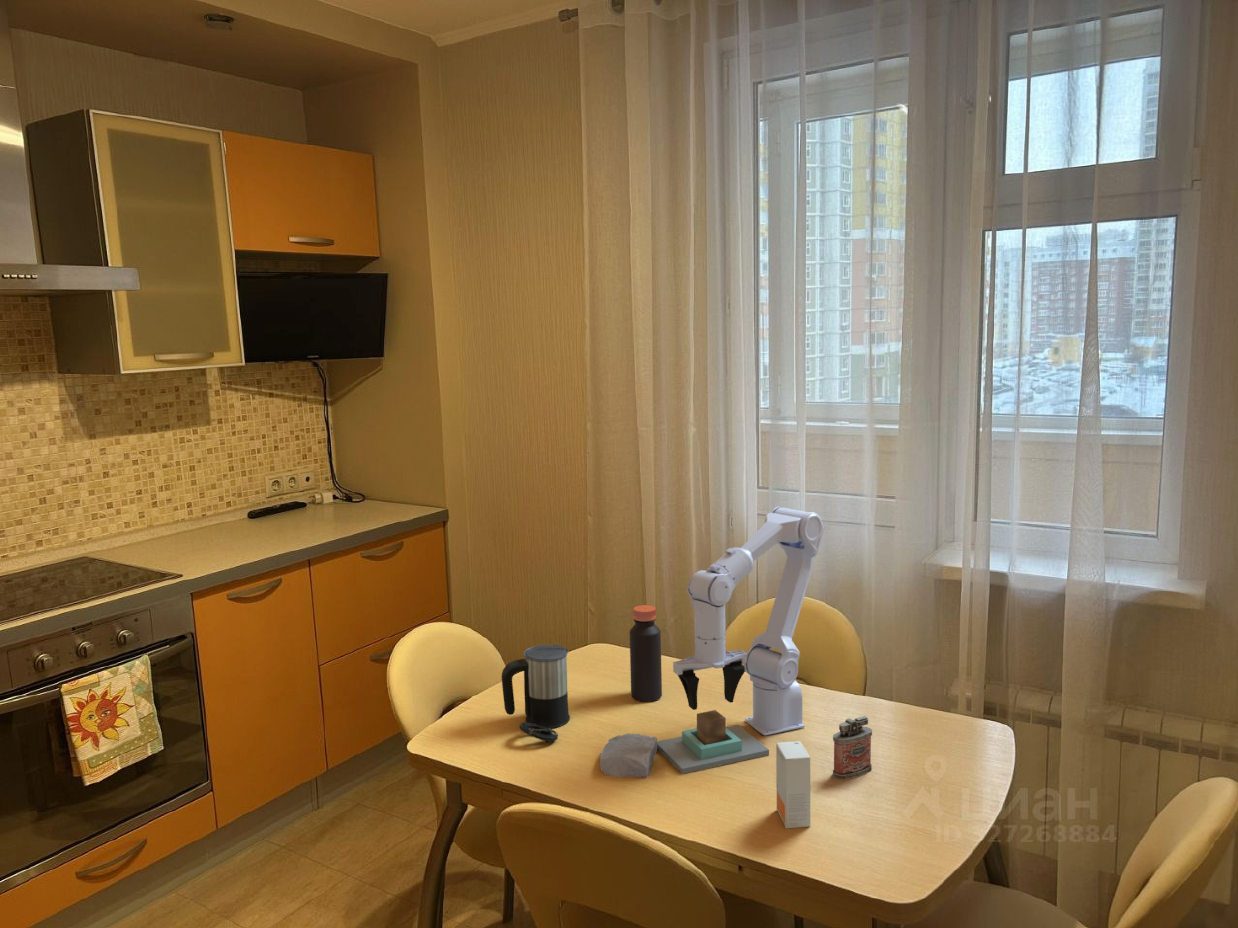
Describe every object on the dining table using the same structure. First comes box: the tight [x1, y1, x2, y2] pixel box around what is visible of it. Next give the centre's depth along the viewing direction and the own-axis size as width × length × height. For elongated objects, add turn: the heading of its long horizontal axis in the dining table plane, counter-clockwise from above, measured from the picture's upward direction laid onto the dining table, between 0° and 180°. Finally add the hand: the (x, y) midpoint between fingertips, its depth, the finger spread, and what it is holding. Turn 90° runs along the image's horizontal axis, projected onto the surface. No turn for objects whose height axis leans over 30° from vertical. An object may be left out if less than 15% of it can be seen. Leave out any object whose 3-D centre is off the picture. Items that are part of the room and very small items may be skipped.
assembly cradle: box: [657, 724, 770, 775], centre depth 173 cm, size 18×12×3 cm, turn 112°
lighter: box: [832, 715, 873, 781], centre depth 163 cm, size 8×3×10 cm, turn 117°
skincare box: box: [775, 740, 811, 829], centre depth 148 cm, size 6×4×12 cm
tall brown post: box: [696, 709, 727, 745], centre depth 173 cm, size 4×4×6 cm
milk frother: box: [501, 644, 571, 744], centre depth 184 cm, size 14×16×15 cm
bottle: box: [629, 604, 663, 703], centre depth 199 cm, size 7×7×20 cm
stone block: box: [599, 733, 658, 778], centre depth 170 cm, size 12×5×10 cm
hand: (711, 704), depth 172 cm, fingers open, 7 cm apart
